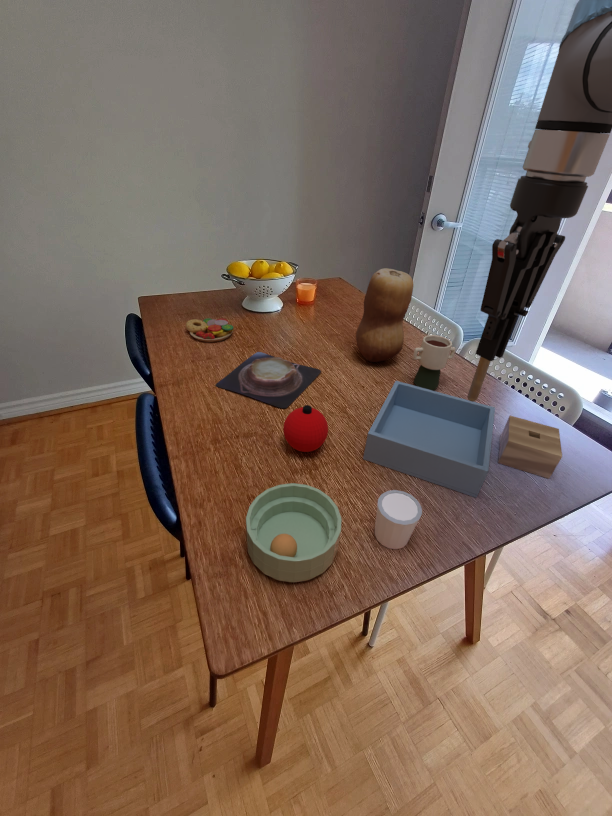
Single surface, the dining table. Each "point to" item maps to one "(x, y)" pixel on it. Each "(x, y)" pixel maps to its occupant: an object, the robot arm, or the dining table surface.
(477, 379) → the stirring stick
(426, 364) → the character mug
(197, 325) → the toy food set
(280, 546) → the dough ball
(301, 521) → the bowl
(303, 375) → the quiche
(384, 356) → the butternut squash
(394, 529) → the white cup
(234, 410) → the dining table surface
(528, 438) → the utensil block
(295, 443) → the ornament
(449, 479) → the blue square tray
